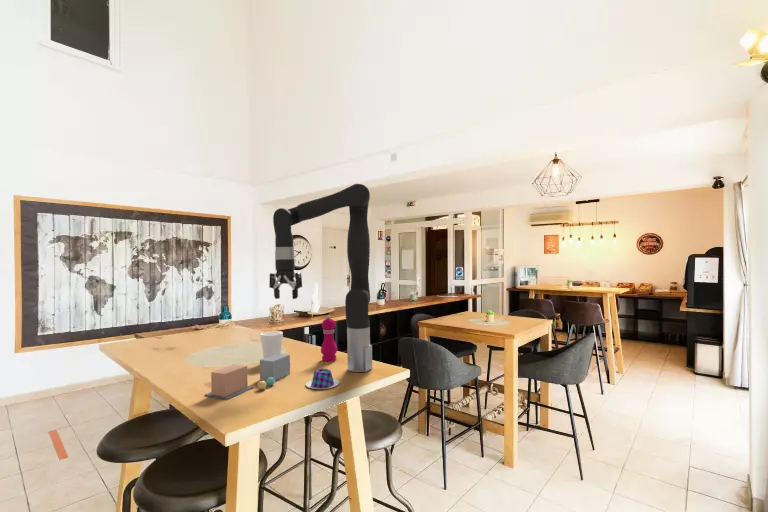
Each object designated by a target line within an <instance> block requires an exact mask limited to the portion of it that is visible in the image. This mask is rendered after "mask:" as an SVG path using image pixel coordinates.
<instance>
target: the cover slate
mask: <svg viewBox="0 0 768 512" xmlns="http://www.w3.org/2000/svg"><path fill="white" fill-rule="evenodd" d="M290 374H291V354H286V353H285V354H284V353H281V354H274V355H272V356H269V357H266V358H264V357H263V358H261V359H259V380H260V381H265V382H266V380H267V379H268V378H269V377H273V378H274V379H275V382H276V381H277V380H280V379H282V378H284V377H286V376H288V375H290Z"/></svg>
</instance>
